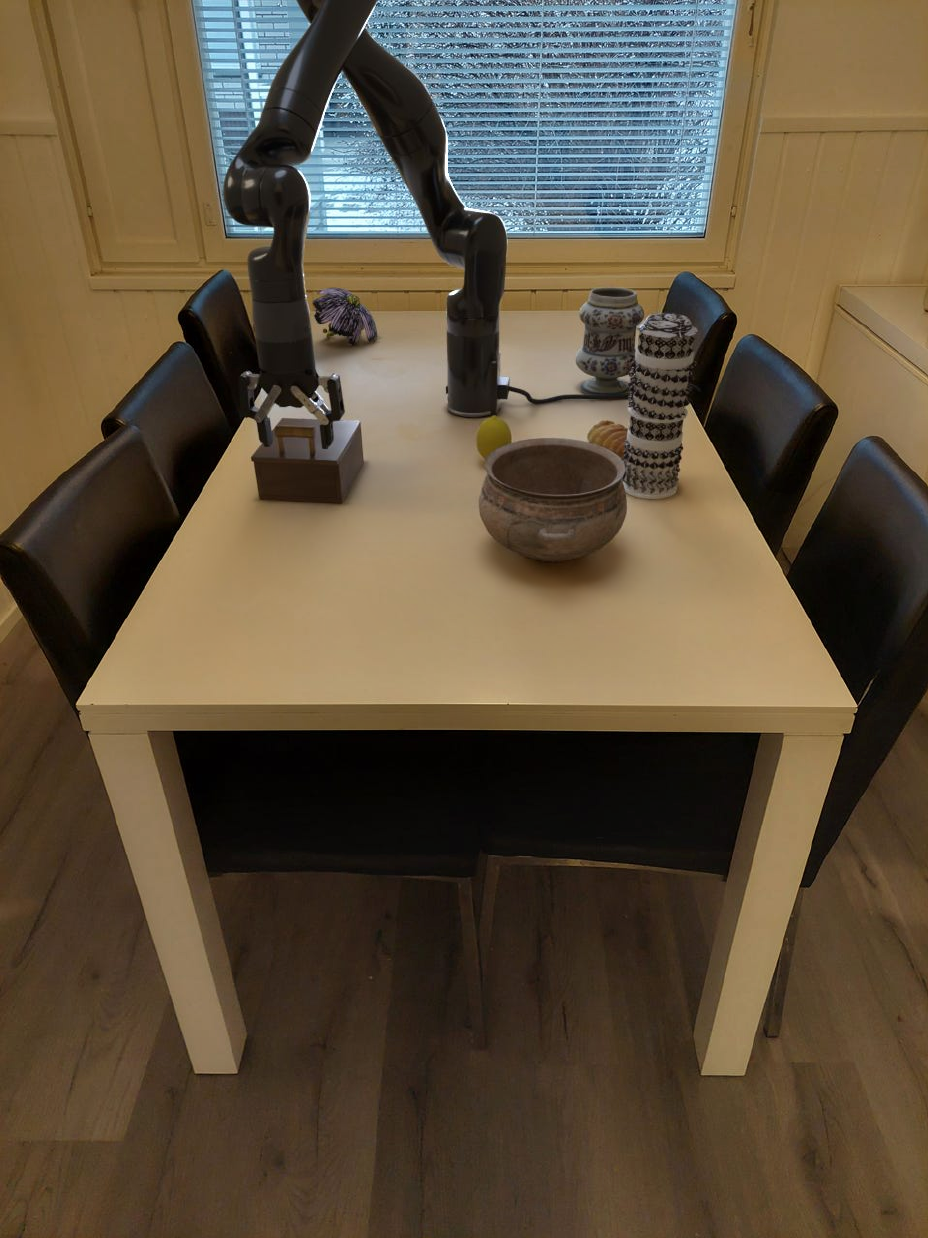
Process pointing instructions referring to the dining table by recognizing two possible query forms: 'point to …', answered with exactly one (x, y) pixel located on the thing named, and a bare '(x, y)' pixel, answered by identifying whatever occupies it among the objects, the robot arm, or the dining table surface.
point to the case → (311, 477)
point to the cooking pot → (553, 498)
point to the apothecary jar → (608, 339)
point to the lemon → (492, 435)
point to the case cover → (306, 442)
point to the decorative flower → (344, 315)
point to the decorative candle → (658, 405)
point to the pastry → (609, 436)
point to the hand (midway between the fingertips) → (297, 446)
